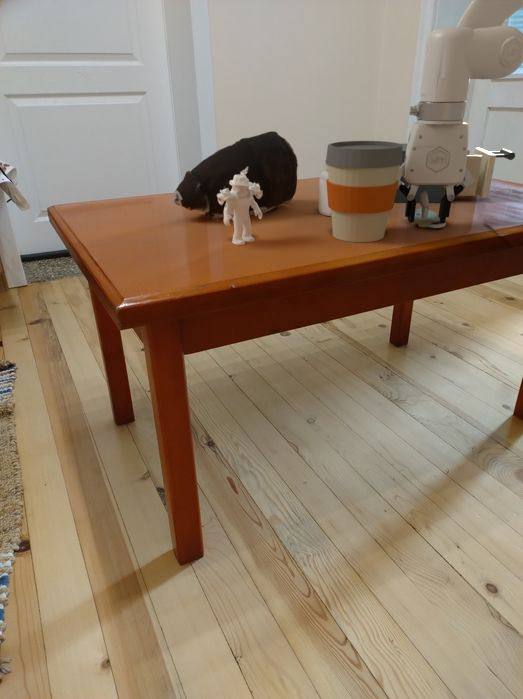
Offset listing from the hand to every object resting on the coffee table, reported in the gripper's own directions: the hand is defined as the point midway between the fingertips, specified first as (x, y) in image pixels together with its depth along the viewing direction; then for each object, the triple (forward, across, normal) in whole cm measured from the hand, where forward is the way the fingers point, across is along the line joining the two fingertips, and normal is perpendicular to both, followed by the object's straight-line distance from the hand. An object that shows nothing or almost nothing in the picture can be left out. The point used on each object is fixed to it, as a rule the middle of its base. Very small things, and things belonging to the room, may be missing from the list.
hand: (426, 220), depth 94 cm
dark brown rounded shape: (+1, -38, +9) cm, 39 cm away
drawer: (0, +12, +27) cm, 30 cm away
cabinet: (+1, 0, +27) cm, 27 cm away
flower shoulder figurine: (+1, -33, -12) cm, 35 cm away
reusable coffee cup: (+1, -13, -7) cm, 15 cm away
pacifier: (+1, +1, 0) cm, 1 cm away
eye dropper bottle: (+1, -18, +9) cm, 20 cm away
